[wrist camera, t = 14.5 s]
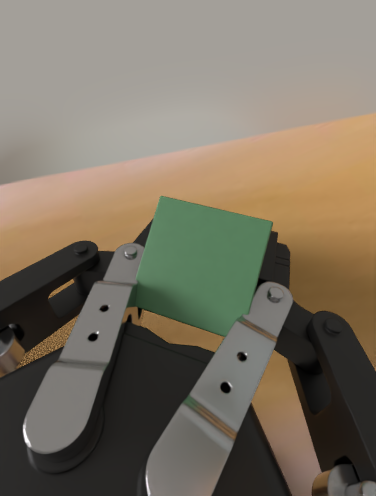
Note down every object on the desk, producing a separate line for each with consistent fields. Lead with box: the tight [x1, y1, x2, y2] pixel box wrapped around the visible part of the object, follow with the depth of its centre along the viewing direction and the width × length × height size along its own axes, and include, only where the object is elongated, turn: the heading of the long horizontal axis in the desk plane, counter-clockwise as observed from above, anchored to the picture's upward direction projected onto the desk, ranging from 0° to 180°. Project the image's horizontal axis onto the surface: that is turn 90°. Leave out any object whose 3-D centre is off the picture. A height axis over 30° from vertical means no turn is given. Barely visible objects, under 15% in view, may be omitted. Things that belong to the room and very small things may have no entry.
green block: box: [135, 196, 273, 337], centre depth 12 cm, size 4×4×8 cm
